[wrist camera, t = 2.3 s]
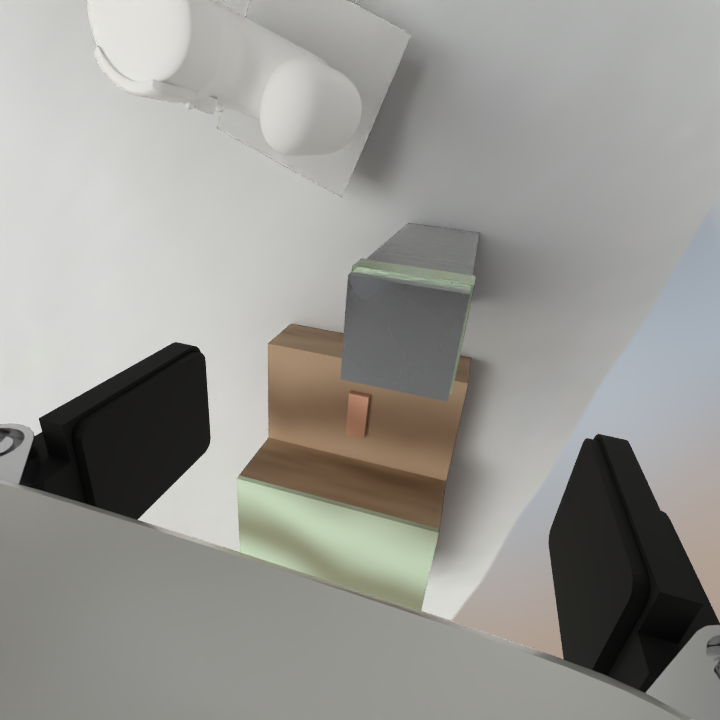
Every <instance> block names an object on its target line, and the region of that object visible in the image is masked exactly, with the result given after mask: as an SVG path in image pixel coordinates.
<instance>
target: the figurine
mask: <svg viewBox="0 0 720 720" xmlns="http://www.w3.org/2000/svg"><path fill="white" fill-rule="evenodd" d="M87 10H88V17H89V23H90V27H91V30H92V33H93V36H94V38H95V41H96V43H97V45H98V46H97V47H96V48H95V53H94V56H95V58H96V61H97V62H98V64H99V66H100V68H101V70H102V71H103V72H104V73H105V74H106V75H107V77H108V78H109V79H110V80H111V81H112V82H113V83H114V84H115V85H117V86H118V87H119V88H121V89H122V90H124V91H126V92H128V93H131V94H133V95H138V96H142V97H147V98H153V99H158V100H163V101H169V102H174V103H183V104H184V105H185V106H186V107H187V108H188V109H193V107H194V108H196V109H198V110H200V111H203V112H206V113H209V114H214V111H215V112H221V113H220V117H219V121H218V125H217V129H219V130H221V131H223V132H224V133H226V134H228V135H230V136H232V137H233V138H235V139H237V140H239V141H241V142H242V143H244V144H246V145H248V146H250V147H251V148H253V149H255V150H257V151H259V152H260V153H262V154H264V155H266V156H268V157H269V158H271V159H273V160H275V161H276V162H278V163H280V164H282V165H284V166H285V167H287V168H289V169H291V170H293V171H294V172H296V173H298V174H300V175H302V176H303V177H305V178H307V179H309V180H311V181H312V182H314V183H316V184H318V185H319V186H321V187H323V188H325V189H327V190H328V191H330V192H332V193H334V194H336V195H337V196H339V197H341V198H342V197H343V195H344V193H345V190H346V188H347V186H348V183H349V181H350V178H351V176H352V174H353V171H354V169H355V167H356V164H357V162H358V160H359V157H360V155H361V153H362V150H363V148H364V146H365V143H366V141H367V138H368V136H369V134H370V131H371V129H372V127H373V124H374V122H375V120H376V117H377V115H378V113H379V110H380V108H381V106H382V103H383V101H384V98H385V96H386V94H387V91H388V89H389V87H390V84H391V82H392V80H393V77H394V75H395V73H396V70H397V68H398V66H399V63H400V61H401V58H402V56H403V54H404V51H405V49H406V47H407V44H408V42H409V40H410V37H411V35H412V34H410V33H408V32H406V31H404V30H403V29H401V28H399V27H397V26H395V25H393V24H392V23H390V22H388V21H386V20H384V19H382V18H381V17H379V16H377V15H375V14H373V13H371V12H370V11H368V10H366V9H364V8H362V7H360V6H358V5H357V4H355V3H353V2H351V1H349V0H250V1H249V5H248V8H247V12H246V16H245V17H244V16H242V15H240V14H238V13H236V12H234V11H233V10H231V9H229V8H227V7H225V6H223V5H221V4H220V3H218V2H216V1H214V0H87Z"/></svg>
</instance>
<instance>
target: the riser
mask: <svg viewBox="0 0 720 720" xmlns="http://www.w3.org/2000/svg"><path fill="white" fill-rule="evenodd" d="M343 338H344V334H342V333H337V332H332V331H326V330H321V329H316V328H310V327H305V326H300V325H295V324H290V325H289V326H288V327H287V328H286V329H284V330H283V331H282V332H281V333H280V334H279V335H277V336H276V337H275V338H274V339H273V340H272V341H270V342H269V343H268V417H269V438H268V439H267V440H266V442H265V443H264V444H263V445H262V447H261V448H260V449H259V451H258V452H257V453H256V454H255V456H254V457H253V458H252V460H251V461H250V462H249V463H248V465H247V466H246V467H245V468H244V470H243V471H242V472H241V474H240V475H239V476H238V477H237V497H238V518H239V539H240V553H243V554H247V555H250V556H253V557H256V558H259V559H262V560H265V561H268V562H272V563H275V564H278V565H281V566H284V567H287V568H290V569H293V570H297V571H300V572H303V573H306V574H309V575H312V576H315V577H318V578H321V579H325V580H328V581H331V582H334V583H337V584H340V585H343V586H346V587H349V588H352V589H355V590H358V591H361V592H364V593H368V594H371V595H374V596H377V597H380V598H383V599H386V600H389V601H392V602H395V603H398V604H401V605H404V606H407V607H410V608H414V609H417V610H420V611H421V608H422V604H423V600H424V595H425V591H426V587H427V582H428V578H429V574H430V570H431V565H432V561H433V557H434V552H435V548H436V544H437V539H438V535H439V529H440V522H441V515H442V508H443V500H444V493H445V486H446V480H447V475H448V471H449V466H450V462H451V458H452V453H453V449H454V444H455V440H456V435H457V431H458V427H459V422H460V418H461V413H462V409H463V404H464V400H465V395H466V391H467V387H468V380H469V371H470V361H471V358H469V357H464V356H460V357H459V361H458V366H457V371H456V376H455V381H454V385H453V390H452V394H449V397H448V402H445V401H441V400H436V399H431V398H426V397H422V396H417V395H412V394H407V393H403V392H398V391H393V390H388V389H384V388H379V387H374V386H369V385H365V384H360V383H355V382H350V381H346V380H341V379H340V377H341V364H342V351H343Z"/></svg>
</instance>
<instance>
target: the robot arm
mask: <svg viewBox="0 0 720 720" xmlns="http://www.w3.org/2000/svg"><path fill="white" fill-rule="evenodd" d="M39 421H40V425H41V429H42V432H41V433H39V434H38V435H36V436H34V432H33V431H32V430H31V429H30V428H29V427H26V426H24V425H19V424H0V720H720V623H719V621H718V619H717V617H716V615H715V612H714V610H713V608H712V606H711V604H710V602H709V600H708V598H707V596H706V594H705V592H704V590H703V588H702V585H701V583H700V581H699V579H698V577H697V575H696V573H695V571H694V569H693V566H692V564H691V562H690V560H689V558H688V556H687V554H686V552H685V550H684V548H683V546H682V543H681V541H680V540H679V537H678V535H677V533H676V531H675V529H674V527H673V525H672V523H671V521H670V519H669V517H668V516H667V514H666V513H664V512H662V511H660V509H659V506H658V504H657V502H656V500H655V498H654V496H653V494H652V491H651V489H650V487H649V485H648V482H647V480H646V478H645V476H644V474H643V472H642V470H641V467H640V465H639V463H638V461H637V459H636V457H635V455H634V452H633V450H632V448H631V446H630V444H629V442H628V441H627V440H624V439H619V438H614V437H610V436H605V435H601V434H598V435H596V436H595V438H594V439H593V440H592V439H588V438H587V439H585V441H584V442H583V444H582V447H581V450H580V452H579V455H578V458H577V460H576V463H575V466H574V468H573V471H572V473H571V476H570V479H569V481H568V484H567V487H566V490H565V492H564V495H563V497H562V500H561V503H560V505H559V508H558V511H557V513H556V516H555V519H554V521H553V524H552V527H551V530H550V534H549V550H550V558H551V566H552V573H553V581H554V588H555V596H556V604H557V611H558V619H559V626H560V634H561V641H562V650H563V657H564V660H563V659H561V658H558V657H555V656H552V655H550V654H547V653H544V652H541V651H539V650H536V649H533V648H530V647H527V646H525V645H521V644H518V643H516V642H513V641H510V640H506V639H504V638H501V637H498V636H494V635H492V634H489V633H485V632H483V631H480V630H477V629H474V628H471V627H468V626H465V625H462V624H460V623H456V622H453V621H450V620H447V619H444V618H441V617H438V616H435V615H432V614H429V613H426V612H423V611H420V610H417V609H414V608H410V607H407V606H404V605H401V604H398V603H395V602H392V601H389V600H386V599H383V598H380V597H377V596H374V595H371V594H368V593H364V592H361V591H358V590H355V589H352V588H349V587H346V586H343V585H340V584H337V583H334V582H331V581H328V580H325V579H321V578H318V577H315V576H312V575H309V574H306V573H303V572H300V571H297V570H293V569H290V568H287V567H284V566H281V565H278V564H275V563H272V562H268V561H265V560H262V559H259V558H256V557H253V556H250V555H247V554H243V553H240V552H237V551H234V550H231V549H228V548H225V547H221V546H218V545H215V544H212V543H209V542H206V541H203V540H200V539H196V538H193V537H190V536H187V535H184V534H181V533H177V532H174V531H171V530H168V529H165V528H161V527H158V526H155V525H152V524H149V523H145V522H142V521H139V520H137V519H138V518H140V517H141V516H142V515H143V514H144V513H145V512H146V511H147V510H148V509H149V508H150V507H151V506H152V505H153V504H154V503H155V502H156V501H157V500H158V499H159V498H160V497H161V496H162V495H163V494H164V493H165V492H166V491H167V490H168V489H169V488H170V487H171V486H172V485H173V484H174V483H175V482H176V481H177V480H178V479H179V478H180V477H181V476H182V475H183V474H184V473H185V472H186V471H187V470H188V469H189V468H190V467H191V466H192V465H193V464H194V463H195V462H196V461H197V460H198V459H199V458H200V457H201V456H202V455H203V454H204V453H205V452H206V450H207V449H208V447H209V444H210V424H209V408H208V393H207V378H206V362H205V357H204V355H203V354H202V353H201V352H200V350H199V348H198V347H196V346H191V345H187V344H182V343H177V342H175V343H172V344H171V345H169V346H167V347H165V348H163V349H162V350H160V351H158V352H156V353H154V354H153V355H151V356H149V357H147V358H146V359H144V360H142V361H140V362H138V363H137V364H135V365H133V366H131V367H130V368H128V369H126V370H124V371H122V372H121V373H119V374H117V375H115V376H114V377H112V378H110V379H108V380H106V381H105V382H103V383H101V384H99V385H98V386H96V387H94V388H92V389H90V390H89V391H87V392H85V393H83V394H82V395H80V396H78V397H76V398H74V399H73V400H71V401H69V402H67V403H66V404H64V405H62V406H60V407H58V408H57V409H55V410H53V411H51V412H49V413H48V414H46V415H44V416H42V417H41V418H39Z"/></svg>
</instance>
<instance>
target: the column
mask: <svg viewBox="0 0 720 720" xmlns="http://www.w3.org/2000/svg"><path fill="white" fill-rule="evenodd" d="M478 239H479V232H471V231H464V230H456V229H449V228H441V227H434V226H427V225H419V224H412V223H408V224H406V225H405V226H404V227H403V228H402V229H401V230H399V231H398V232H397V233H396V234H395V235H394V236H393V237H391V238H390V239H389V240H388V241H387V242H386V243H384V244H383V245H382V246H381V247H380V248H379V249H378V250H376V251H375V252H374V253H373V254H372V255H371V256H369V257H368V258H367V259H360V260H359V261H358V262H356V263H355V264H354V265H353V266H352V272H351V273H350V274H349V275H348V286H347V299H346V312H345V325H344V338H343V351H342V364H341V377H340V379H341V380H346V381H350V382H355V383H360V384H365V385H369V386H374V387H379V388H384V389H388V390H393V391H398V392H403V393H407V394H412V395H417V396H422V397H426V398H431V399H436V400H441V401H445V402H448V397H449V394H452V390H453V385H454V381H455V376H456V371H457V366H458V361H459V357H460V352H461V347H462V342H463V337H464V333H465V328H466V323H467V318H468V314H469V309H470V304H471V299H472V294H473V290H474V285H475V277H476V276H473V270H474V264H475V258H476V251H477V245H478Z"/></svg>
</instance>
